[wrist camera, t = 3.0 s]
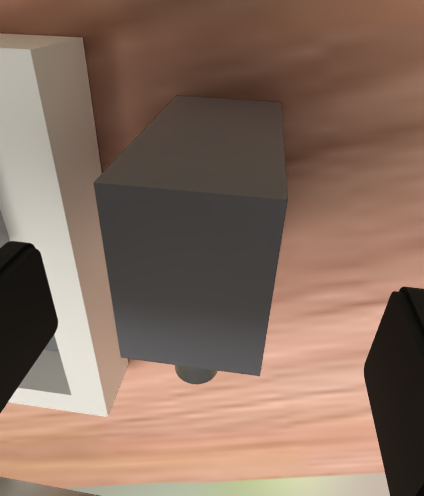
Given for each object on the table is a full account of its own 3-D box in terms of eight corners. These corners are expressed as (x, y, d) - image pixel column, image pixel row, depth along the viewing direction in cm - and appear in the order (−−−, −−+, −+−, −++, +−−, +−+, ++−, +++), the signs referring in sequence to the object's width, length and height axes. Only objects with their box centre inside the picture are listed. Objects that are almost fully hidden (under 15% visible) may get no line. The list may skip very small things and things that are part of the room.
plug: (176, 95, 16) (93, 182, 9) (281, 101, 16) (287, 199, 8) (179, 248, 20) (126, 392, 13) (261, 256, 20) (254, 410, 13)
